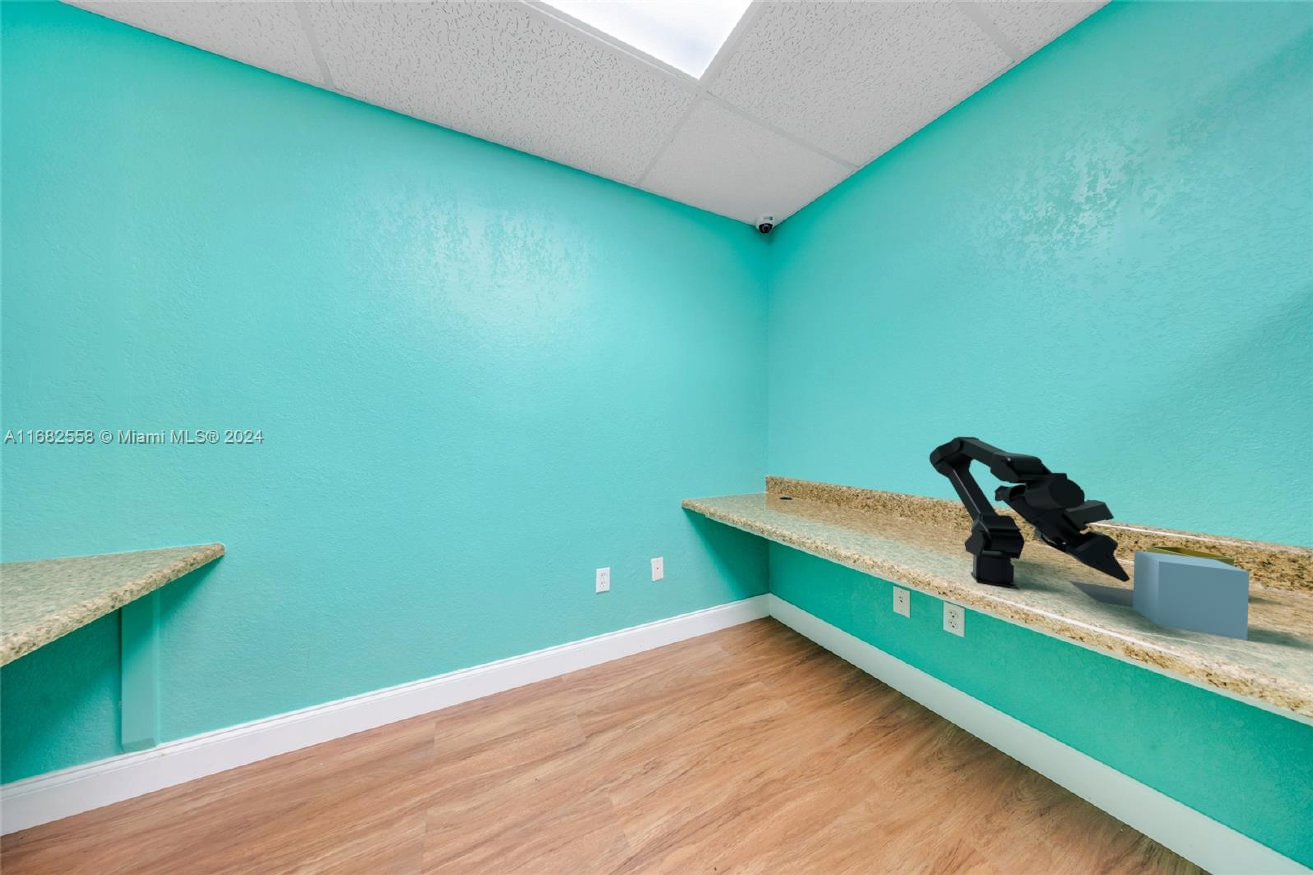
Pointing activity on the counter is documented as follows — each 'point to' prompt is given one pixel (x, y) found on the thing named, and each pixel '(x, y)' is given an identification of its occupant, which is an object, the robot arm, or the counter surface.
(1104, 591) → the mat
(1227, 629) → the light blue rectangular block
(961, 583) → the counter surface
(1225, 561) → the flower pot
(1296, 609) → the counter surface
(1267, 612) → the counter surface
